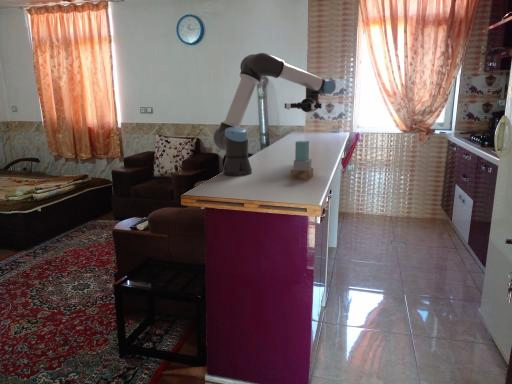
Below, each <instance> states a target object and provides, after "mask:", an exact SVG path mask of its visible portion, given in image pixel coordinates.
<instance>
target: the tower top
mask: <svg viewBox="0 0 512 384" xmlns="http://www.w3.org/2000/svg"><path fill="white" fill-rule="evenodd" d="M311 168H312V158H309V160H307V161H295V159H294V160H293V169H294V170H296V171H309V170H310V169H311Z"/></svg>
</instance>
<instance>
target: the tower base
mask: <svg viewBox="0 0 512 384" xmlns="http://www.w3.org/2000/svg"><path fill="white" fill-rule="evenodd" d="M313 177H314V168H313V167H311V169H310V170H309V171H296V170H294V168H292V169H291V170H290V180H304V181H310V180H311V179H312V178H313Z"/></svg>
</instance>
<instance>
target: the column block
mask: <svg viewBox="0 0 512 384" xmlns="http://www.w3.org/2000/svg"><path fill="white" fill-rule="evenodd" d="M294 153H295V154H294V155H295V157H294V158H295V159H294V160H295V161H307V160H309V159H310V158H309V157H310V141H309V140H296V141H295V151H294Z"/></svg>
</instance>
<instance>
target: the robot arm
mask: <svg viewBox="0 0 512 384" xmlns="http://www.w3.org/2000/svg"><path fill="white" fill-rule="evenodd" d="M239 68H240V69H239V70H240V73H239V77H240V80H239V83H238V86H237V89H236V91H235V94H234V97H233V99H232V101H231V104H230V106H229V109H228V112H227V115H226V117H225V120H223V121H222V122H220V125H219V128H217V129H216V130H214V132H213V135H212V140H213V143H214V145H215V146H216V147H217V148H218V149H220V150H222V151H225V161H224V164H223V168H222V175H225V176H230V177H232V176H233V177H241V176H248V175H251V174H253V168H252V166H251V162H250V160H249V159H250V158H249V133H248V130H247V129H246V128H244V127H241V124H242V122H243V119H244V116H245V114H246V112H247V109H248V106H249V104H250V101H251V97H252V96H253V93H254V91H255V88H256V86H257V85H259V84H260V83H261V80H262V78H263V77H271V78H275V79H278V78H280V79H283V80H286V81H287V82H290V83H291V82H292V83H294V84H297V85H300V86H302V87H305V98H304V99H303V100H302V101H301V102H291V103H289V102H286V103H284V109H285V110H290V109H299V110H302V111H303V112H304V113H309V114H310V113H311V112H315V111H317V110H318V109H320V110H321V109H322V103H320V101H319V95H329V94H330V95H331V94H333V93H334V92H335V90H336V87H337V86H336V83H335V81H334V80H333V79H325V78H323V77H320V76H318V75H315V74H312V73H310V72H308V71H306V70H303V69H300V68H298V67H295V66H293V65H291V64H288V63H285V61H284V60H283V59H281V58H279V57H276V56H274V55H271V54H269V53H265V52H258V53H252V54H249V55H247V56H245V57H244V58H243V59H241V62H240V67H239Z"/></svg>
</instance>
